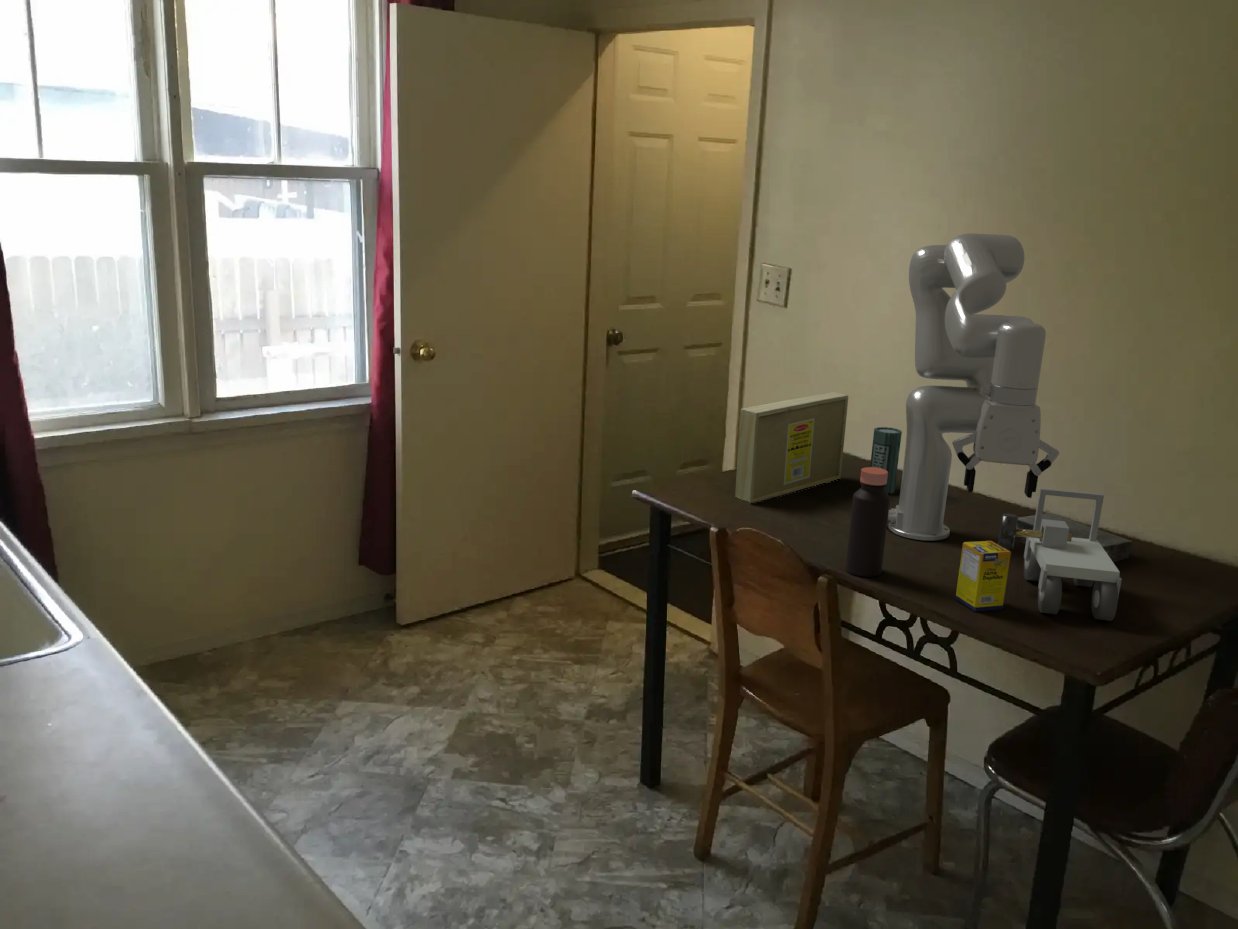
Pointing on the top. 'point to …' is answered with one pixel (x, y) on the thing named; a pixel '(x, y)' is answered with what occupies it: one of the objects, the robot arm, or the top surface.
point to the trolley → (1071, 560)
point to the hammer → (1015, 532)
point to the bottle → (868, 524)
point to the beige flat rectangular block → (790, 445)
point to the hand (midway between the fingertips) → (998, 492)
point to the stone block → (1082, 535)
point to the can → (886, 453)
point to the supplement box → (982, 575)
